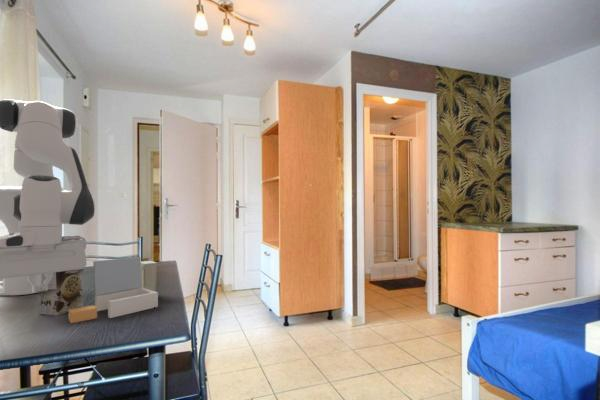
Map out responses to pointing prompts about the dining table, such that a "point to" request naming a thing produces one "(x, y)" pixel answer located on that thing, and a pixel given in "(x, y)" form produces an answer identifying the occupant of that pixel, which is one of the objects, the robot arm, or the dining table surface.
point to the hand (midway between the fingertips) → (39, 291)
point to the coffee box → (62, 292)
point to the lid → (117, 275)
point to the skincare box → (149, 275)
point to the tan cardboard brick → (82, 314)
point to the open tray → (126, 301)
